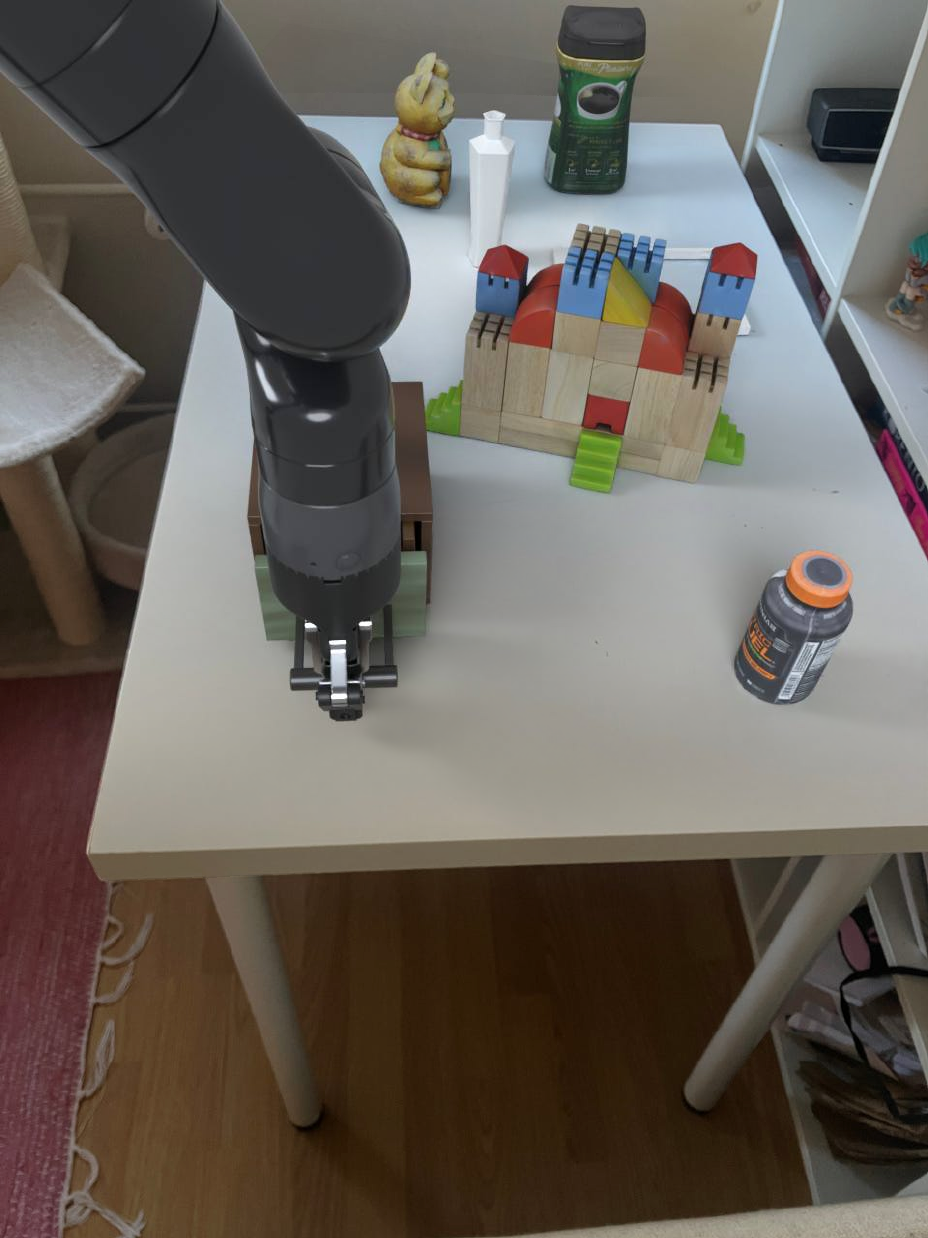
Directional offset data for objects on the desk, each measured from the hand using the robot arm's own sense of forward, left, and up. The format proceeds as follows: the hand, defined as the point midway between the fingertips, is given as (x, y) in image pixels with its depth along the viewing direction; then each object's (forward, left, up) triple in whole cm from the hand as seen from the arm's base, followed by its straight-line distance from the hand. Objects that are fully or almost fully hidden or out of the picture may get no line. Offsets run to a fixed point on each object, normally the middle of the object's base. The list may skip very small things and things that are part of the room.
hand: (346, 702), depth 68 cm
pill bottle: (+31, +2, -2) cm, 31 cm away
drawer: (0, +9, -1) cm, 9 cm away
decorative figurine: (+8, +71, -2) cm, 72 cm away
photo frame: (+31, +51, -2) cm, 60 cm away
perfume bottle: (+15, +58, -2) cm, 60 cm away
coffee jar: (+28, +75, -2) cm, 80 cm away
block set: (+21, +29, -2) cm, 36 cm away
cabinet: (0, +17, -2) cm, 17 cm away
